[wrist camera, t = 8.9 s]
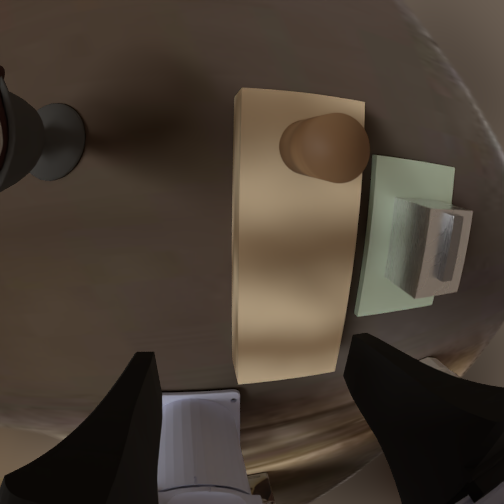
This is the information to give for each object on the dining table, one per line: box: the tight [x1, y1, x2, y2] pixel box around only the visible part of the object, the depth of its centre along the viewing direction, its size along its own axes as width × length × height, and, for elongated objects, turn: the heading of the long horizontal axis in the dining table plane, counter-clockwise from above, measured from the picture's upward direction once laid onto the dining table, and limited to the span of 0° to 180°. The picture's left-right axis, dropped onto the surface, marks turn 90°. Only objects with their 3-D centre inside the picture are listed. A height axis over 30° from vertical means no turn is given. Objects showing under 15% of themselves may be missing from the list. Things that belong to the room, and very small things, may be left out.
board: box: [354, 155, 455, 317], centre depth 22 cm, size 12×8×1 cm, turn 179°
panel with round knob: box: [232, 88, 370, 384], centre depth 17 cm, size 18×7×7 cm, turn 179°
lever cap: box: [384, 197, 473, 299], centre depth 20 cm, size 6×4×5 cm
